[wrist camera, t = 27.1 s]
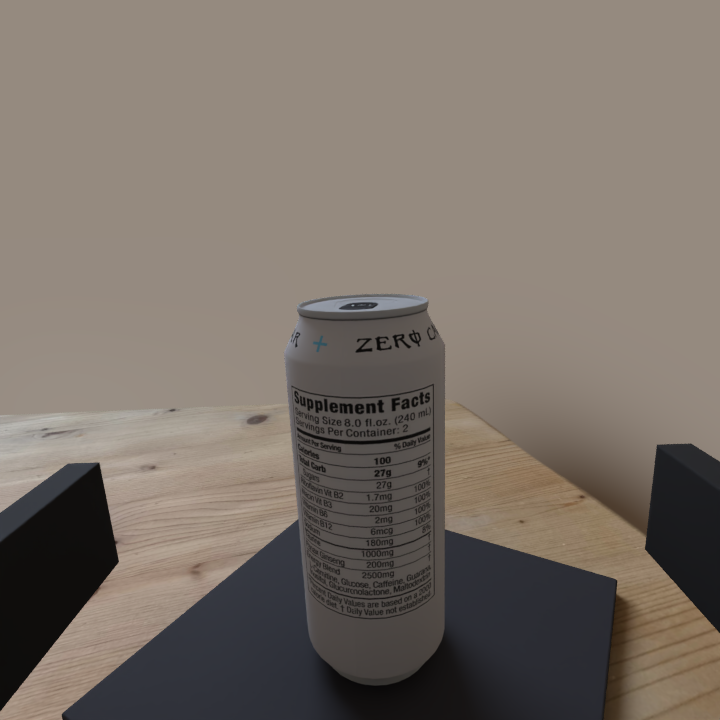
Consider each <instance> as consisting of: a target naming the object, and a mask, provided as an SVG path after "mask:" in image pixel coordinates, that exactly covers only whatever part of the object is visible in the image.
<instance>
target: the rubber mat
mask: <svg viewBox="0 0 720 720" xmlns="http://www.w3.org/2000/svg"><path fill="white" fill-rule="evenodd" d="M616 590H617V580H616V579H613V578H610V577H606V576H603V575H599V574H596V573H592V572H589V571H586V570H582V569H579V568H575V567H572V566H568V565H565V564H562V563H558V562H555V561H551V560H548V559H544V558H541V557H537V556H534V555H531V554H527V553H524V552H520V551H517V550H513V549H510V548H507V547H503V546H500V545H496V544H493V543H489V542H486V541H482V540H479V539H476V538H472V537H469V536H465V535H462V534H458V533H455V532H452V531H448V530H445V629H444V633H443V637H442V641H441V643H440V644H439V646H438V648H437V650H436V651H435V652H434V654H433V655H432V656H431V657H430V658H429V659H428V660H427V661H426V662H425V663H424V664H423V665H422V666H421V667H420V669H419V670H418V671H416V672H415V673H414V674H412V675H411V676H410V677H408V678H406V679H404V680H401V681H399V682H396V683H392V684H388V685H376V686H374V685H365V684H360V683H357V682H354V681H351V680H349V679H347V678H346V677H344V676H342V675H340V674H339V673H338V672H337V671H336V670H335V669H333V667H332V666H331V665H329V664H328V663H327V662H326V661H325V660H324V659H322V658H321V657H320V655H319V654H318V653H317V651H316V650H315V649H314V647H313V644H312V642H311V640H310V637H309V631H308V623H307V611H306V599H305V588H304V576H303V565H302V553H301V541H300V530H299V519H298V520H297V521H295V522H294V523H293V524H292V525H291V526H289V527H288V528H287V529H286V530H284V531H283V532H282V533H281V534H280V535H278V536H277V537H276V538H275V539H274V540H272V541H271V542H270V543H269V544H267V545H266V546H265V547H264V548H263V549H261V550H260V551H259V552H258V553H257V554H255V555H254V556H253V557H252V558H250V559H249V560H248V561H247V562H246V563H244V564H243V565H242V566H241V567H240V568H238V569H237V570H236V571H235V572H233V573H232V574H231V575H230V576H229V577H227V578H226V579H225V580H224V581H223V582H221V583H220V584H219V585H218V586H216V587H215V588H214V589H213V590H212V591H210V592H209V593H208V594H207V595H206V596H204V597H203V598H202V599H201V600H199V601H198V602H197V603H196V604H195V605H193V606H192V607H191V608H190V609H189V610H187V611H186V612H185V613H184V614H182V615H181V616H180V617H179V618H178V619H176V620H175V621H174V622H173V623H171V624H170V625H169V626H168V627H167V628H165V629H164V630H163V631H162V632H161V633H159V634H158V635H157V636H156V637H154V638H153V639H152V640H151V641H150V642H148V643H147V644H146V645H145V646H144V647H142V648H141V649H140V650H139V651H137V652H136V653H135V654H134V655H133V656H131V657H130V658H129V659H128V660H127V661H125V662H124V663H123V664H122V665H120V666H119V667H118V668H117V669H116V670H114V671H113V672H112V673H111V674H110V675H108V676H107V677H106V678H105V679H103V680H102V681H101V682H100V683H99V684H97V685H96V686H95V687H94V688H93V689H91V690H90V691H89V692H88V693H86V694H85V695H84V696H83V697H82V698H80V699H79V700H78V701H77V702H76V703H74V704H73V705H72V706H71V707H69V708H68V709H67V710H66V711H65V712H63V714H62V719H63V720H603V718H604V708H605V699H606V689H607V679H608V669H609V659H610V649H611V639H612V629H613V619H614V609H615V599H616Z"/></svg>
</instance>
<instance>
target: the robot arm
mask: <svg viewBox="0 0 720 720" xmlns="http://www.w3.org/2000/svg"><path fill="white" fill-rule="evenodd" d="M645 550H646V551H647V552H648V553H649V554H650V555H651V556H652V558H653V559H654V560H655V561H656V562H657V563H658V564H659V565H660V567H661V568H662V569H663V570H664V571H665V572H666V573H667V574H668V575H669V577H670V578H671V579H672V580H673V581H674V582H675V583H676V584H677V586H678V587H679V588H680V589H681V590H682V591H683V592H684V593H685V595H686V596H687V597H688V598H689V599H690V600H691V601H692V602H693V604H694V605H695V606H696V607H697V608H698V609H699V610H700V611H701V612H702V614H703V615H704V616H705V617H706V618H707V619H708V620H709V621H710V623H711V624H712V625H713V626H714V627H715V628H716V629H717V630H718V632H719V633H720V462H719V461H718V460H716V459H714V458H713V457H711V456H710V455H708V454H707V453H705V452H703V451H702V450H700V449H699V448H697V447H695V446H694V445H692V444H667V445H657V449H656V458H655V467H654V476H653V484H652V493H651V502H650V510H649V519H648V528H647V537H646V545H645ZM118 562H119V560H118V555H117V550H116V545H115V540H114V535H113V530H112V525H111V520H110V514H109V509H108V504H107V499H106V494H105V489H104V484H103V479H102V474H101V469H100V464H99V463H74V464H67V465H66V466H64V467H63V468H62V469H60V470H59V471H57V472H56V473H55V474H53V475H52V476H50V477H49V478H48V479H46V480H45V481H44V482H42V483H41V484H39V485H38V486H37V487H35V488H34V489H33V490H31V491H30V492H28V493H27V494H26V495H24V496H23V497H22V498H20V499H19V500H17V501H16V502H15V503H13V504H12V505H11V506H9V507H8V508H6V509H5V510H4V511H2V512H1V513H0V711H1V710H2V708H3V707H4V706H5V705H6V703H7V702H8V701H9V700H10V698H11V697H12V696H13V695H14V693H15V692H16V691H17V690H18V688H19V687H20V686H21V685H22V683H23V682H24V681H25V680H26V678H27V677H28V676H29V674H30V673H31V672H32V671H33V669H34V668H35V667H36V666H37V664H38V663H39V662H40V661H41V659H42V658H43V657H44V656H45V654H46V653H47V652H48V651H49V649H50V648H51V647H52V646H53V644H54V643H55V642H56V640H57V639H58V638H59V637H60V635H61V634H62V633H63V632H64V630H65V629H66V628H67V627H68V625H69V624H70V623H71V622H72V620H73V619H74V618H75V617H76V615H77V614H78V613H79V612H80V610H81V609H82V608H83V606H84V605H85V604H86V603H87V601H88V600H89V599H90V598H91V596H92V595H93V594H94V593H95V591H96V590H97V589H98V588H99V586H100V585H101V584H102V583H103V581H104V580H105V579H106V578H107V576H108V575H109V574H110V573H111V571H112V570H113V569H114V567H115V566H116V565H117V564H118Z"/></svg>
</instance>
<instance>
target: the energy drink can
mask: <svg viewBox="0 0 720 720" xmlns="http://www.w3.org/2000/svg"><path fill="white" fill-rule="evenodd" d="M427 307H428V299H426V298H423V297H419V296H413V295H400V294H365V295H347V296H336V297H327V298H320V299H314V300H309V301H305V302H302V303H300V304H298V306H297V311H298V313H299V320H298V322H297V325H296V327H295V330H294V332H293V334H292V336H291V338H290V340H289V343H288V345H287V347H286V349H285V352H284V356H285V367H286V378H287V389H288V402H289V414H290V426H291V437H292V449H293V460H294V472H295V484H296V495H297V507H298V518H299V530H300V541H301V553H302V565H303V576H304V588H305V599H306V611H307V623H308V631H309V637H310V640H311V642H312V644H313V647H314V649H315V650H316V651H317V653H318V654H319V655H320V657H321V658H322V659H324V660H325V661H326V662H327V663H328V664H329V665H331V666H332V667H333V669H335V670H336V671H337V672H338V673H339V674H340V675H342V676H344V677H346V678H347V679H349V680H351V681H354V682H357V683H360V684H365V685H374V686H376V685H388V684H392V683H396V682H399V681H401V680H404V679H406V678H408V677H410V676H411V675H412V674H414V673H415V672H416V671H418V670H419V669H420V667H421V666H422V665H423V664H424V663H425V662H426V661H427V660H428V659H429V658H430V657H431V656H432V655H433V654H434V652H435V651H436V650H437V648H438V646H439V644H440V643H441V641H442V637H443V633H444V629H445V344H444V342H443V340H442V339H441V337H440V335H439V333H438V331H437V330H436V328H435V326H434V324H433V323H432V321H431V319H430V317H429V315H428V313H427Z"/></svg>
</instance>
